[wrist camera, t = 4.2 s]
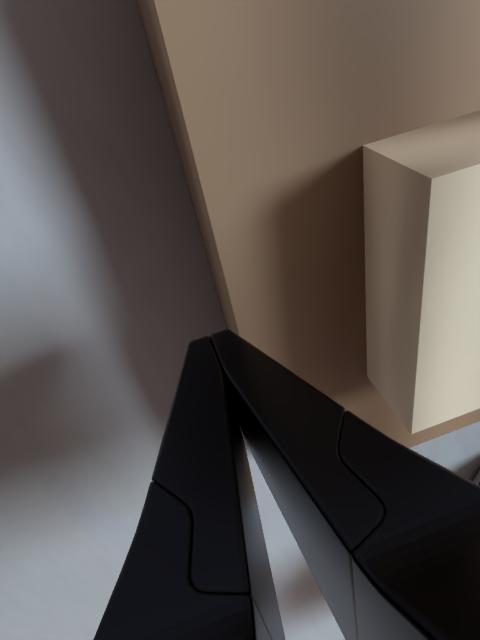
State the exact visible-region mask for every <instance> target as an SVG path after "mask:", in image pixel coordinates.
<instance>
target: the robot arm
mask: <svg viewBox="0 0 480 640" xmlns="http://www.w3.org/2000/svg"><path fill="white" fill-rule="evenodd" d="M210 339H211V340H210ZM240 428H241V430H240ZM241 431H242V433H241ZM242 434H243V436H244V438H245V441H246V443H247V445H248V447H249V449H250V451H251V453H252V455H253V457H254V459H255V461H256V463H257V465H258V467H259V469H260V471H261V473H262V475H263V477H264V479H265V481H266V483H267V485H268V487H269V489H270V491H271V493H272V495H273V497H274V499H275V501H276V503H277V505H278V507H279V509H280V510H281V512H282V514H283V516H284V518H285V520H286V522H287V524H288V526H289V528H290V530H291V532H292V534H293V536H294V538H295V540H296V542H297V544H298V546H299V548H300V550H301V552H302V554H303V556H304V558H305V560H306V562H307V564H308V566H309V568H310V570H311V572H312V574H313V576H314V578H315V580H316V582H317V584H318V586H319V588H320V590H321V592H322V594H323V596H324V598H325V600H326V602H327V604H328V606H329V608H330V610H331V612H332V614H333V616H334V618H335V620H336V622H337V624H338V626H339V627H340V629H341V631H342V633H343V635H344V637H345V639H346V640H480V486H479V485H477V484H475V483H473V482H471V481H469V480H467V479H465V478H464V477H462V476H460V475H458V474H456V473H454V472H452V471H450V470H449V469H447V468H445V467H443V466H441V465H439V464H437V463H435V462H433V461H432V460H430V459H428V458H426V457H424V456H422V455H420V454H418V453H417V452H415V451H413V450H411V449H410V448H408V447H406V446H404V445H402V444H401V443H399V442H397V441H395V440H394V439H392V438H390V437H388V436H387V435H385V434H384V433H382V432H380V431H379V430H377V429H376V428H374V427H373V426H371V425H370V424H368V423H366V422H365V421H363V420H362V419H360V418H359V417H358V416H356V415H355V414H353V413H352V412H350V411H349V410H347V411H346V409H345V408H344V407H343V406H341V405H340V404H338V403H337V402H335V401H334V400H333V399H331V398H330V397H328V396H327V395H325V394H324V393H322V392H321V391H319V390H318V389H316V388H315V387H313V386H312V385H311V384H309V383H308V382H306V381H305V380H303V379H302V378H300V377H299V376H297V375H296V374H294V373H293V372H291V371H290V370H289V369H287V368H286V367H284V366H283V365H281V364H280V363H278V362H277V361H275V360H274V359H272V358H271V357H270V356H268V355H267V354H265V353H264V352H262V351H261V350H259V349H258V348H256V347H255V346H253V345H252V344H250V343H249V342H248V341H246V340H245V339H243V338H242V337H240V336H239V335H237V334H236V333H234V332H233V331H231V330H229V329H226V330H223V331H220V332H217V333H214V334H212V335H211V336H210V338H209V337H208V336H205V337H202V338H199V339H196V340H193V341H191V342H190V343H189V345H188V348H187V352H186V355H185V359H184V363H183V366H182V370H181V374H180V377H179V381H178V385H177V388H176V392H175V395H174V399H173V403H172V406H171V410H170V414H169V417H168V421H167V425H166V428H165V432H164V435H163V439H162V443H161V446H160V450H159V454H158V457H157V461H156V465H155V468H154V472H153V475H152V481H153V482H151V483H150V486H149V489H148V493H147V497H146V500H145V504H144V507H143V510H142V513H141V517H140V520H139V523H138V526H137V530H136V533H135V536H134V538H133V541H132V544H131V546H130V549H129V552H128V554H127V557H126V560H125V562H124V565H123V568H122V570H121V573H120V575H119V578H118V580H117V582H116V585H115V587H114V590H113V592H112V595H111V597H110V600H109V602H108V605H107V607H106V610H105V612H104V615H103V617H102V620H101V622H100V625H99V627H98V630H97V632H96V635H95V637H94V640H285V635H284V631H283V626H282V621H281V616H280V611H279V607H278V602H277V597H276V592H275V587H274V583H273V578H272V573H271V568H270V563H269V559H268V554H267V549H266V544H265V539H264V534H263V530H262V525H261V520H260V515H259V510H258V506H257V501H256V496H255V491H254V486H253V482H252V477H251V472H250V467H249V462H248V458H247V453H246V448H245V444H244V440H243V436H242Z"/></svg>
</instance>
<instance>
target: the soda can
mask: <svg viewBox="0 0 480 640" xmlns="http://www.w3.org/2000/svg"><path fill="white" fill-rule="evenodd" d="M473 483H475V484H477V485H479V486H480V470H479V471H478V473H477V474H476V476H475V477H474V479H473Z"/></svg>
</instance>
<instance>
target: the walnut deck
mask: <svg viewBox="0 0 480 640" xmlns="http://www.w3.org/2000/svg"><path fill="white" fill-rule="evenodd" d="M137 3H138V7H139V10H140V14H141V18H142V21H143V25H144V29H145V32H146V36H147V40H148V43H149V47H150V50H151V54H152V58H153V61H154V65H155V69H156V72H157V76H158V80H159V83H160V87H161V91H162V94H163V98H164V101H165V105H166V109H167V112H168V116H169V120H170V123H171V127H172V131H173V134H174V138H175V141H176V145H177V149H178V152H179V156H180V160H181V163H182V167H183V171H184V174H185V178H186V181H187V185H188V189H189V192H190V196H191V200H192V203H193V207H194V211H195V214H196V218H197V221H198V225H199V229H200V232H201V236H202V240H203V243H204V247H205V251H206V254H207V258H208V262H209V265H210V269H211V272H212V276H213V280H214V283H215V287H216V291H217V294H218V298H219V302H220V305H221V309H222V312H223V316H224V320H225V323H226V327H227V329H229V330H231V331H233V332H234V333H236V334H237V335H239V336H240V337H242V338H243V339H245V340H246V341H248V342H249V343H250V344H252V345H253V346H255V347H256V348H258V349H259V350H261V351H262V352H264V353H265V354H267V355H268V356H270V357H271V358H272V359H274V360H275V361H277V362H278V363H280V364H281V365H283V366H284V367H286V368H287V369H289V370H290V371H291V372H293V373H294V374H296V375H297V376H299V377H300V378H302V379H303V380H305V381H306V382H308V383H309V384H311V385H312V386H313V387H315V388H316V389H318V390H319V391H321V392H322V393H324V394H325V395H327V396H328V397H330V398H331V399H333V400H334V401H335V402H337V403H338V404H340V405H341V406H343V407H344V408H345V409H346V411H347V410H349V411H350V412H352V413H353V414H355V415H356V416H358V417H359V418H360V419H362V420H363V421H365V422H366V423H368V424H370V425H371V426H373V427H374V428H376V429H377V430H379V431H380V432H382V433H384V434H385V435H387V436H388V437H390V438H392V439H394V440H395V441H397V442H399V443H401V444H402V445H404V446H406V447H408V448H410V447H413V446H415V445H418V444H420V443H423V442H426V441H428V440H431V439H433V438H436V437H439V436H441V435H444V434H446V433H449V432H452V431H454V430H457V429H459V428H462V427H465V426H467V425H470V424H472V423H475V422H478V421H480V408H479V409H477V410H474V411H472V412H469V413H466V414H464V415H461V416H458V417H456V418H453V419H451V420H448V421H445V422H443V423H440V424H437V425H435V426H432V427H430V428H427V429H424V430H422V431H419V432H416V433H414V434H411V433H410V432H409V431H408V429H407V428H406V427H405V425H404V424H403V423H402V421H401V420H400V419H399V418H398V416H397V415H396V414H395V412H394V411H393V410H392V408H391V407H390V406H389V404H388V403H387V402H386V401H385V399H384V398H383V397H382V395H381V394H380V393H379V391H378V390H377V389H376V387H375V386H374V385H373V384H372V382H371V381H370V380H369V378H368V377H367V340H366V287H365V233H364V180H363V145H366V144H369V143H372V142H376V141H379V140H382V139H386V138H389V137H392V136H396V135H399V134H402V133H406V132H409V131H412V130H416V129H419V128H422V127H426V126H429V125H432V124H436V123H439V122H442V121H446V120H449V119H452V118H456V117H459V116H462V115H466V114H469V113H472V112H476V111H479V110H480V0H137Z"/></svg>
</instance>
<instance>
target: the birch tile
mask: <svg viewBox="0 0 480 640" xmlns="http://www.w3.org/2000/svg"><path fill="white" fill-rule="evenodd" d="M363 180H364V233H365V287H366V340H367V377H368V378H369V380H370V381H371V382H372V384H373V385H374V386H375V387H376V389H377V390H378V391H379V393H380V394H381V395H382V397H383V398H384V399H385V401H386V402H387V403H388V404H389V406H390V407H391V408H392V410H393V411H394V412H395V414H396V415H397V416H398V418H399V419H400V420H401V421H402V423H403V424H404V425H405V427H406V428H407V429H408V431H409V432H410V433H411V434H414V433H416V432H419V431H422V430H424V429H427V428H430V427H432V426H435V425H437V424H440V423H443V422H445V421H448V420H451V419H453V418H456V417H458V416H461V415H464V414H466V413H469V412H472V411H474V410H477V409H479V408H480V110H479V111H476V112H472V113H469V114H466V115H462V116H459V117H456V118H452V119H449V120H446V121H442V122H439V123H436V124H432V125H429V126H426V127H422V128H419V129H416V130H412V131H409V132H406V133H402V134H399V135H396V136H392V137H389V138H386V139H382V140H379V141H376V142H372V143H369V144H366V145H363Z"/></svg>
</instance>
